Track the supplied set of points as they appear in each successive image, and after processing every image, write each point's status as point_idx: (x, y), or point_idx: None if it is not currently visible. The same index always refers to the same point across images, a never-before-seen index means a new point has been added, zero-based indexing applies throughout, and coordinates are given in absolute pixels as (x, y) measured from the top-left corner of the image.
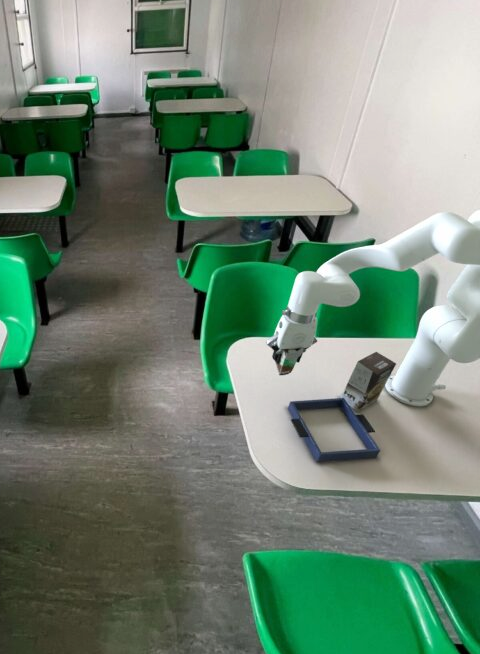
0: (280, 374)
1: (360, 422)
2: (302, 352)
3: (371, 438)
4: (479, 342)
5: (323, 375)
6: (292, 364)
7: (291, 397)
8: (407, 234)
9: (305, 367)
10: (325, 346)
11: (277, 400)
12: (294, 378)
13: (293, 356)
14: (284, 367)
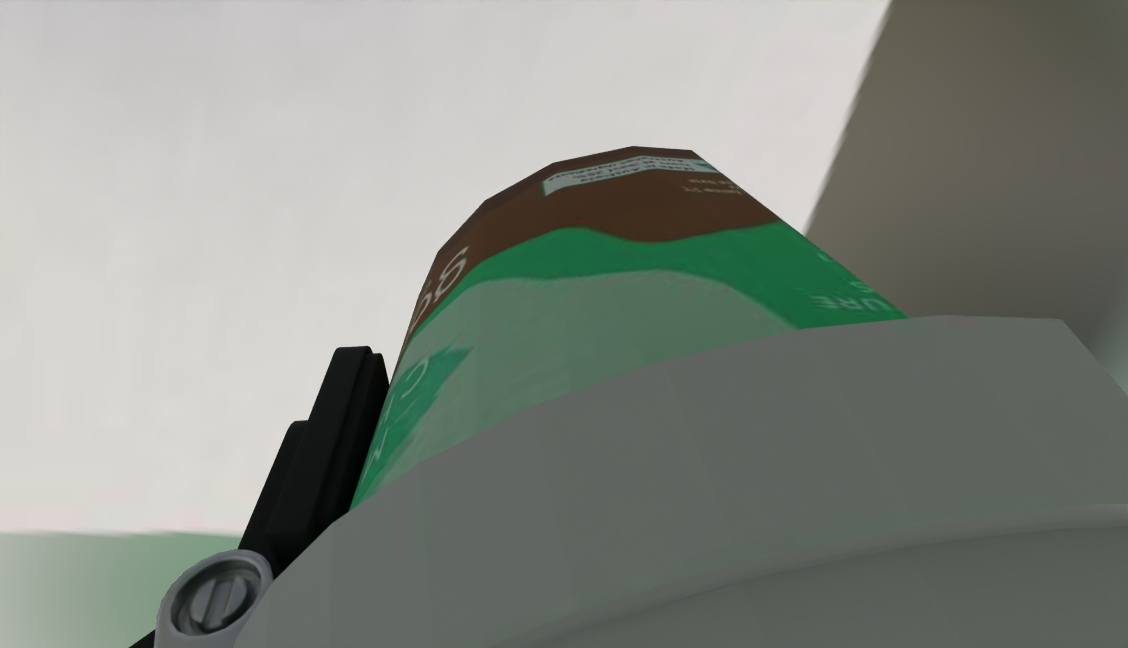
0: (680, 154)
1: None
2: (283, 598)
3: None
4: None
5: (72, 286)
6: (542, 266)
7: (426, 38)
8: None
9: (221, 365)
10: (43, 528)
11: (578, 6)
12: (337, 263)
13: (803, 445)
14: (721, 207)
